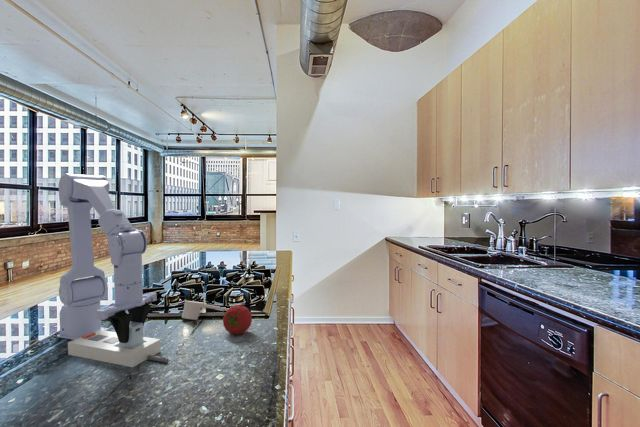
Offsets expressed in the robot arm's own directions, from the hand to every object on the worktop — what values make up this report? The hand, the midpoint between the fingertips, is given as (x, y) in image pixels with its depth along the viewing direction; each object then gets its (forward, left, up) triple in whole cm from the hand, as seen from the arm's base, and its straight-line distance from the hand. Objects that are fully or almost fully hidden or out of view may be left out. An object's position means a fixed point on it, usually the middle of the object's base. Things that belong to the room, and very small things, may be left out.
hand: (130, 339), depth 77 cm
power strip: (-2, 0, -4) cm, 5 cm away
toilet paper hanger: (-2, +30, -5) cm, 30 cm away
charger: (0, 0, -2) cm, 2 cm away
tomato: (+17, +19, -4) cm, 26 cm away
